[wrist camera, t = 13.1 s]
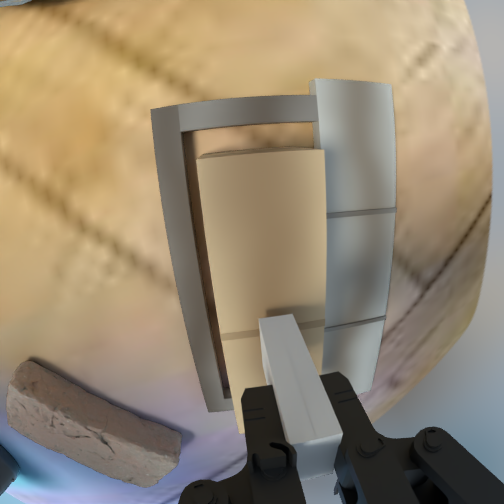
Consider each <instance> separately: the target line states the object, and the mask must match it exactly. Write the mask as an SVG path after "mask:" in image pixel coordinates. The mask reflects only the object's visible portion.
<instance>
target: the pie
mask: <svg viewBox="0 0 504 504" xmlns="http://www.w3.org/2000/svg"><path fill="white" fill-rule="evenodd" d="M28 1H31V0H0V7H3V6H11V5H22V4H24V3H26V2H28Z"/></svg>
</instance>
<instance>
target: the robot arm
mask: <svg viewBox="0 0 504 504" xmlns="http://www.w3.org/2000/svg"><path fill="white" fill-rule="evenodd" d="M259 329H260V341H261V352H262V363H263V369H264V373H265V378H266V382H267V385H266V386H259V387H252V388H245V390H244V392H243V395H242V397H241V406H242V414H243V421H244V430H245V437H246V445H247V452H248V456H247V463H246V465H245V466H244V468H243V469H242V470H241V471H240V472H239V473H238V474H236V475H234V476H232V477H230V478H227V479H224V480H221V481H219V482H215V481H212V480H198V481H195V482H192V483H190V484H189V485H188V486H186V487H185V488H184V490H183V492H182V494H181V496H180V500H179V503H178V504H306V500H305V497H304V493H303V489H302V486H301V482H300V481H303V480H308V479H312V478H317V477H321V476H325V475H329V474H332V473H333V470H334V468H335V471H336V474H337V477H338V479H337V482H336V485H335V488H334V495H336V494H338V492H339V495H340V497H341V500H342V503H343V504H504V484H503V483H502V482H501V481H500V480H499V479H498V478H497V477H496V476H495V475H493V474H492V473H491V472H490V471H489V470H488V469H487V468H486V467H485V466H484V465H482V464H481V463H480V462H479V461H478V460H477V459H476V458H475V457H474V456H473V455H471V454H470V453H469V452H468V451H467V450H466V449H465V448H464V447H463V446H462V445H461V444H459V443H458V442H457V441H456V440H455V439H454V438H453V437H452V436H451V435H450V434H448V433H447V432H446V431H445V430H443V429H441V428H438V427H427V428H425V429H423V430H421V431H420V432H419V433H418V434H417V435H416V436H415V437H412V438H400V439H392V438H387V437H384V436H383V435H381V434H379V433H378V432H376V431H375V429H374V428H373V426H372V424H371V422H370V420H369V418H368V416H367V414H366V412H365V410H364V408H363V406H362V405H361V403H360V401H359V399H358V397H357V395H356V393H355V391H354V390H353V387H352V385H351V383H350V381H349V379H348V378H346V377H345V376H344V375H343V374H341V373H340V372H339V371H337V372H333V373H328V374H323V375H318V372H317V370H316V367H315V365H314V363H313V360H312V358H311V356H310V353H309V351H308V349H307V346H306V344H305V342H304V339H303V337H302V335H301V332H300V330H299V328H298V325H297V323H296V321H295V318H294V316H293V314H288V315H281V316H274V317H267V318H260V319H259ZM19 470H20V468H19V466H18V464H17V462H16V461H15V460H14V459H13V457H12V456H11V455H10V454H9V453H8V452H7V451H6V450H5V449H4V448H3V447H2V446H0V496H1V494H2V493H3V492H4V491H5V490H6V489H7V488H8V487H9V485H10V484H11V483H12V482H14V481H15V480H16V478H17V476H18V473H19Z"/></svg>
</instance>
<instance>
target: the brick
mask: <svg viewBox="0 0 504 504" xmlns="http://www.w3.org/2000/svg"><path fill="white" fill-rule="evenodd" d="M12 377H13V378H12V380H11V381H10V383H9V385H8V393H7V400H6V410H7V418H8V425H9V426H11V427H12V428H14V429H15V430H16V431H18V432H19V433H20V434H22V435H24V436H25V437H27V438H29V439H31V440H32V441H34V442H35V443H38V444H40V445H42V446H44V447H46V448H47V449H51V450H53V451H55V452H58V453H62V454H64V455H66V456H67V457H68V458H71V459H73V460H75V461H76V462H78V463H81V464H83V465H85V466H87V467H89V468H92V469H93V470H95V471H97V472H99V473H102V474H104V475H107V476H109V477H111V478H114V479H119V480H122V481H123V482H126V483H132V484H135V485H137V486H139V487H144V488H147V487H151V486H153V485H155V484H157V483H158V481H159V480H160V479H162V478H163V476H164V475H167V474H168V473H170V472H171V471H172V470H173V469H174V468H175V467H176V466H177V465H178V462H179V455H180V448H181V438H182V435H181V434H180V433H179V432H177V431H174V430H171V429H169V428H167V427H166V426H163V425H161V424H158V423H155V422H152V421H149V420H144V419H141V418H140V417H138V416H136V415H134V414H133V413H131V412H129V411H127V410H123V409H121V408H119V407H117V406H114V405H112V404H110V403H108V402H107V401H106V400H103V399H101V398H99V397H97V396H95V395H93V394H90V393H87V392H86V391H85V390H84V389H82V388H80V387H78V386H77V385H75V384H73V383H71V382H69V381H68V380H66V379H64V378H62V377H61V376H59V375H57V374H56V373H54V372H52V371H49V370H48V369H46V368H44V367H41V366H40V365H38V364H36V363H34V362H32V361H25V362H23V363H21V364H20V365H19V367H18V368H17V369H16V370H15V372H14V373H13V375H12Z"/></svg>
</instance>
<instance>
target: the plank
mask: <svg viewBox="0 0 504 504" xmlns="http://www.w3.org/2000/svg"><path fill="white" fill-rule="evenodd" d="M196 163H197V172H198V181H199V190H200V198H201V206H202V214H203V222H204V229H205V237H206V244H207V251H208V258H209V265H210V272H211V279H212V286H213V292H214V298H215V305H216V311H217V317H218V323H219V329H220V338H221V341H222V347H223V352H224V358H225V363H226V369H227V374H228V380H229V385H230V390H231V395H232V401H233V406H234V411H235V416H236V420H237V425H238V430H239V434H243V433H245V430H244V421H243V414H242V406H241V397H242V395H243V392H244V390H245V388H252V387H259V386H266V385H267V382H266V378H265V373H264V369H263V363H262V352H261V341H260V329H259V319H260V318H267V317H274V316H281V315H288V314H293V316H294V318H295V321H296V323H297V325H298V328H299V330H300V332H301V335H302V337H303V339H304V342H305V344H306V346H307V349H308V351H309V353H310V356H311V358H312V360H313V363H314V365H315V367H316V370H317V372H318V375H321V372H322V359H323V343H324V326H325V302H326V258H327V224H326V180H325V157H324V150H323V149H313V148H301V147H274V148H260V149H248V150H237V151H227V152H217V153H208V154H203V155H201V156H200V157H199V158H198V159H196Z"/></svg>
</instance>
